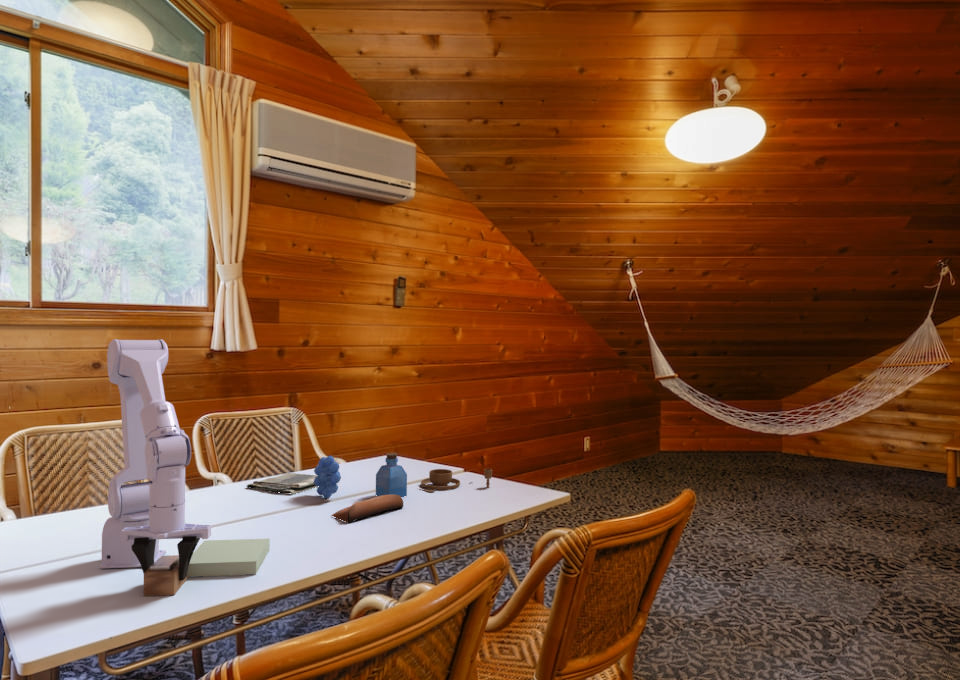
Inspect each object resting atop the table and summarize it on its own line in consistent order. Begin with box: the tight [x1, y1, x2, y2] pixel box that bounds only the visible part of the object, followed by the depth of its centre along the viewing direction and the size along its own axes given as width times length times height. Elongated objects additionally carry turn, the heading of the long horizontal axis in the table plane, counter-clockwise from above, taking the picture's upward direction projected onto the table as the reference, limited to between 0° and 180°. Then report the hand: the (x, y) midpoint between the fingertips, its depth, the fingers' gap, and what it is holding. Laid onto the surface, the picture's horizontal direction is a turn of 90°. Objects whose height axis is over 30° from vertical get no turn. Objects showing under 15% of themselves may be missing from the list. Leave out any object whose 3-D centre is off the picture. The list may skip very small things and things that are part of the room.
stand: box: [187, 538, 271, 578], centre depth 122 cm, size 13×13×2 cm
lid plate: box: [150, 554, 179, 572], centre depth 110 cm, size 3×5×2 cm, turn 6°
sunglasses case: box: [330, 495, 404, 524], centre depth 157 cm, size 18×7×7 cm
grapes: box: [313, 455, 342, 499], centre depth 171 cm, size 12×7×12 cm, turn 46°
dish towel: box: [246, 472, 318, 496], centre depth 184 cm, size 19×18×3 cm
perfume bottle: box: [375, 452, 408, 498], centre depth 174 cm, size 6×6×12 cm
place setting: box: [418, 468, 493, 493], centre depth 185 cm, size 18×20×6 cm
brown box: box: [142, 564, 188, 597], centre depth 110 cm, size 5×7×4 cm
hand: (166, 579), depth 110 cm, fingers closed on brown box, 5 cm apart
